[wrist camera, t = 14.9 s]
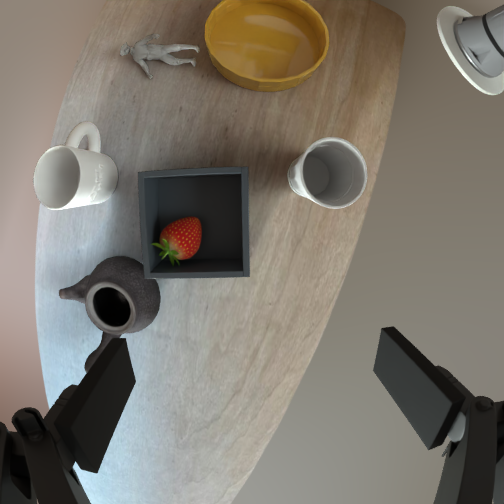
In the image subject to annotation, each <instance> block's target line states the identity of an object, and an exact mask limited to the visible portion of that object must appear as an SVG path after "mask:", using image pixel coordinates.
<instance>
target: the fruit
mask: <svg viewBox="0 0 504 504" xmlns="http://www.w3.org/2000/svg"><path fill="white" fill-rule="evenodd" d="M201 237H202V227H201V223H200V220H199V219H198V218H196V217H185V218H182V219H179V220H176V221H174V222H172V223H170V224H169V225H168V226H166V227H165V228H164V229H163V231H162V232H161V234H160V241H159V242H160V244H158V243H153V244H152V245H155V246H157V247H159V248H161V249H163V251H161V252H160V254H159V255H158V256H163V257H162V259H163V258H164V257H165V256H166V255H167V254H168V255H169V258H170V261H171V264H172V266H173V267H174V259H175V260H176V261H177V263H178V265H179V262H178V260H184V259H188V258H190V257H192V256H193V255H194V254H195V253H196V252H197V251H198V249H199V246H200V243H201ZM172 257H173V258H174V259H173V258H172ZM177 259H178V260H177ZM179 267H180V266H179Z"/></svg>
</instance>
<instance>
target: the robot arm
mask: <svg viewBox="0 0 504 504" xmlns="http://www.w3.org/2000/svg"><path fill="white" fill-rule="evenodd" d="M453 31H454V36H455V39H456V42H457V44H458V46H459V48H460V50H461V52H462V53H463V55H464V56H465V58H466V59H467V61H468V62H469V63H470V64H471V66H472V67H473V68H474V69H475V70H476V71H477V72H479V73H480V74H481V75H483V76H485V77H487V78H494V77H497V76H499V75H500V74H501V73H502V72H503V71H504V5H502V6H500V7H498V8H496V9H494V10H492V11H490V12H488V13H487V14H485V15H483V16H470V17H464V16H463V17H460V18H459V19H458V20H457V21H455V23H454V26H453ZM373 371H374V372H375V374H376V375H377V377H378V378H379V380H380V381H381V382H382V384H383V385H384V386H385V388H386V389H387V391H388V392H389V394H390V395H391V396H392V398H393V399H394V401H395V402H396V404H397V405H398V406H399V408H400V409H401V411H402V412H403V414H404V415H405V416H406V418H407V419H408V421H409V422H410V424H411V425H412V427H413V428H414V430H415V431H416V432H417V434H418V435H419V437H420V438H421V440H422V441H423V443H424V444H425V446H426V447H427V449H428V450H430V449H433V448H435V447H437V446H440V445H442V444H443V442H444V440H445V438H446V437H447V435H448V436H449V438H450V439H451V441H450V442H449V444H448V446H447V448H446V449H445V451H444V452H443V454H442V456H444V455H445V454H446V453H447V454H446V459H445V463H444V467H443V472H442V476H441V480H440V484H439V487H438V490H437V494H436V497H435V501H434V504H492V499H493V502H494V504H504V401H501V402H495V403H494V402H493V400H491V399H490V398H488V397H484V396H477V397H475V396H473V394H472V393H471V392H470V391H469V390H468V389H467V388H465V386H463V385H462V384H461V383H460V382H458V380H457V379H456V378H455V377H453V375H452V374H451V373H450V372H449V371H448V370H446V369H445V368H443V367H441V366H434V365H433V364H432V363H431V362H430V361H429V360H428V359H427V358H426V357H425V356H424V355H423V354H422V353H421V352H420V351H419V350H418V349H417V348H416V347H415V346H414V345H413V344H412V343H411V342H410V341H408V340H407V339H406V338H405V337H404V336H403V335H402V334H401V333H400V332H399V331H398V330H397V329H396V328H395V327H386V328H382V329H381V335H380V340H379V345H378V350H377V355H376V360H375V364H374V369H373ZM135 383H136V380H135V376H134V372H133V368H132V364H131V360H130V356H129V351H128V347H127V342H126V338H112V339H111V340H110V341H109V343H108V344H107V346H106V347H105V348H104V350H103V351H102V352H101V354H100V355H99V357H98V358H97V359H96V361H95V362H94V364H93V365H92V366H91V368H90V369H89V371H88V372H87V374H86V375H85V376H84V378H83V379H82V381H81V382H80V384H79V385H73V384H72V385H70V386H69V387H67V388H66V389H65V390H63V392H62V393H61V395H60V396H59V399H57V400H56V402H55V405H54V404H53V406H52V407H51V409H50V410H49V412H48V413H47V415H46V416H45V417H44V419H43V418H42V416H41V414H40V412H39V411H38V410H37V409H35V408H31V407H29V408H23V409H20V410H18V411H17V412H16V413H15V414H14V416H13V417H12V423H13V425H14V427H15V428H16V430H17V432H11V431H8V429H7V427H6V426H5V424H3V423H2V422H0V504H37V499H38V502H39V504H91V503H90V501H89V499H88V497H87V495H86V493H85V491H84V489H83V487H82V485H81V483H80V481H79V479H78V476H77V474H76V472H75V470H74V469H73V465H74V463H75V461H76V462H77V464H78V466H79V467H80V469H82V470H86V471H89V472H93V473H98V470H99V468H100V465H101V463H102V460H103V458H104V455H105V453H106V450H107V448H108V445H109V443H110V440H111V438H112V436H113V433H114V431H115V428H116V426H117V424H118V421H119V419H120V417H121V414H122V412H123V410H124V407H125V405H126V403H127V401H128V398H129V396H130V394H131V392H132V389H133V387H134V385H135Z"/></svg>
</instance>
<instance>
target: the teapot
mask: <svg viewBox="0 0 504 504" xmlns="http://www.w3.org/2000/svg"><path fill="white" fill-rule="evenodd" d="M59 296H60V298H61V299H70V300H77V301H79V302H81V303H84V304H85V306H86V311H87V314H88V316H89V318H90V319H91V321H92V322H93V323H94V324H95V325H96V326H97V327H98V328H99V329H100V330H102V331H103V334H102V340H101V343H100V345H99V347H98V348H97V349H96V350H95V351H93V352H92V353H91V354H90V355H89V356H88V358H87V360H86V363H85V367H84V368H85V371H86V373H87V372H88V371H89V369H90V368H91V366H92V365H93V364H94V362H95V361H96V359H97V358H98V357H99V355H100V354H101V352H102V351H103V350H104V348H105V347H106V346H107V344H108V343H109V341H110V340H111V339H112V338H120V336H121V335H122V334H124V333H134V332H138V331H140V330H143V329H144V328H146V327H147V326H148V325H150V324H151V323H152V322H153V320H154V319H155V317H156V315H157V314H158V311H159V307H160V298H161V297H160V291H159V287H158V283H157V282H156V280H155V279H145V275H144V266H143V264H142V263H140V262H139V261H137V260H135V259H132V258H129V257H124V256H116V257H112V258H108V259H106V260H104V261H102V262H101V263H100V264H98V265H97V266H96V268H95V269H94V270H93V272H92V273H91V275H88V276H85V277H84V278H83V279H82V280H81V281H79V282H78V283H77V284H75V285H73V286H71V287H68V288H64V289H60V290H59Z"/></svg>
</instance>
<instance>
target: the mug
mask: <svg viewBox="0 0 504 504" xmlns="http://www.w3.org/2000/svg"><path fill="white" fill-rule="evenodd" d="M84 135H86V136H87V139H88V150H85V149H80V148H78V146H79V143H80V141H81V139H82V138H83V136H84ZM100 149H101V139H100V134H99V131H98V129H97V127H96V125H95V124H93V123H91V122H88V121H85V122H82V123H79V124H78V125H77V126H76V127H75V128H74V129H73V130H72V131H71V132H70V134H69V136H68V138H67V140H66V142H65V145H57V146H54V147H52V148H50V149H48V150H47V151H46V152H45V153H44V154H43V155H42V156H41V157H40V159H39V161H38V163H37V165H36V168H35V171H34V178H33V183H34V190H35V193H36V196H37V198H38V199H39V201H40V202H41V203H42V204H43V205H44V206H45V207H47V208H49V209H52V210H61V209H66V208H72V207H78V206H84V205H91V204H97V203H101V202H104V201H105V200H107V199H108V198H109V197H110V196H111V195H112V194H113V192H114V190H115V188H116V186H117V182H118V171H117V167H116V165H115V163H114V161H113V160H112V159H111V158H110V157H109V156H108V155H106V154H103V153H100Z"/></svg>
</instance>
